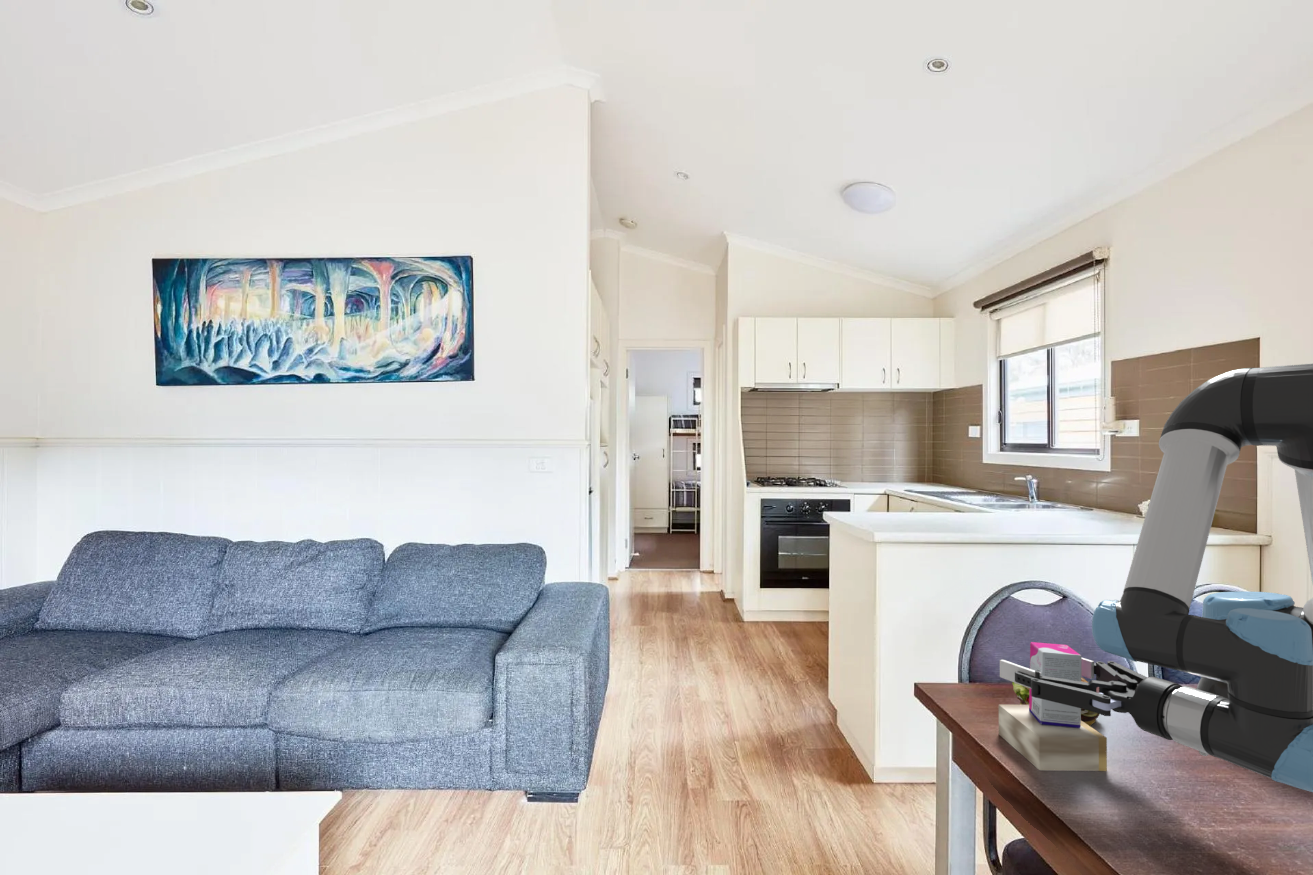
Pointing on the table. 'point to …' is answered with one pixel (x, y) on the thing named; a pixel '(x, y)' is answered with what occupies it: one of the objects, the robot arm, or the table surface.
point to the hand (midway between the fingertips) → (1027, 662)
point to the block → (1052, 742)
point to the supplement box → (1058, 665)
